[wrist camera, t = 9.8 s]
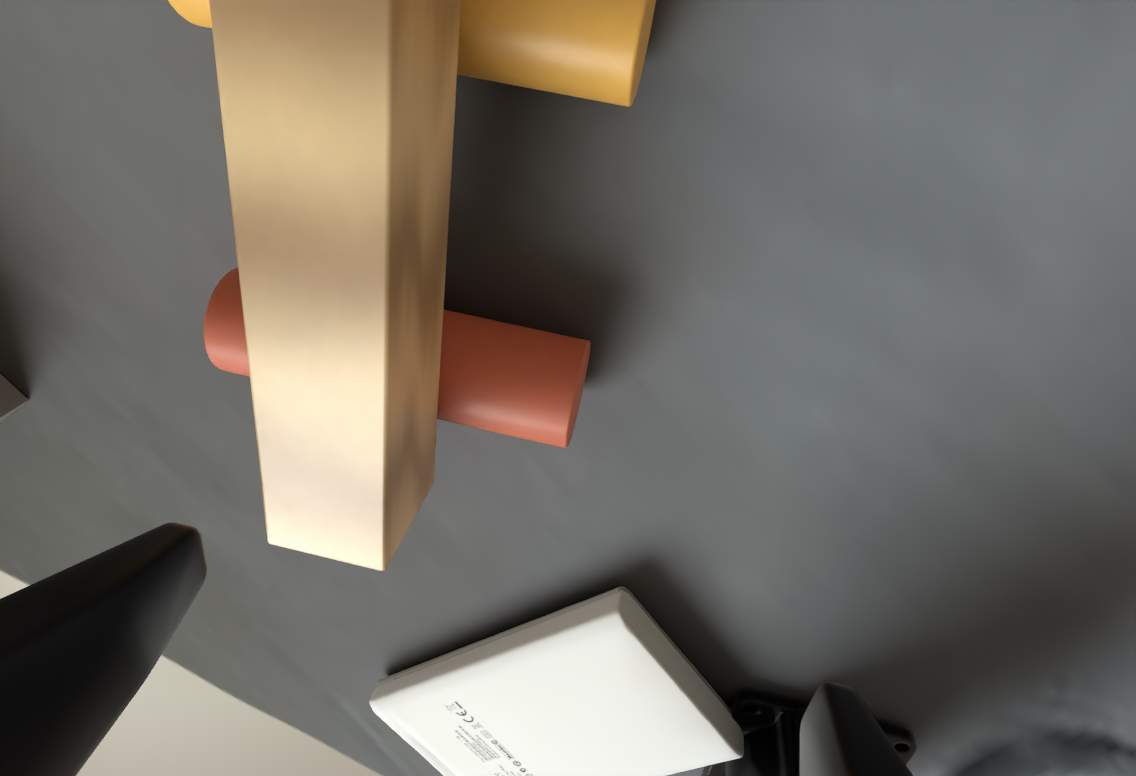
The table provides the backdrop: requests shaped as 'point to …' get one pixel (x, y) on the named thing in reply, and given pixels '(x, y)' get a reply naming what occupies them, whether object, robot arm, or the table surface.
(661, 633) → the hard drive
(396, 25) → the light wooden bar
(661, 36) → the table surface
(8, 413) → the dice cube
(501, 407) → the terracotta rod
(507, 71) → the ochre rod
